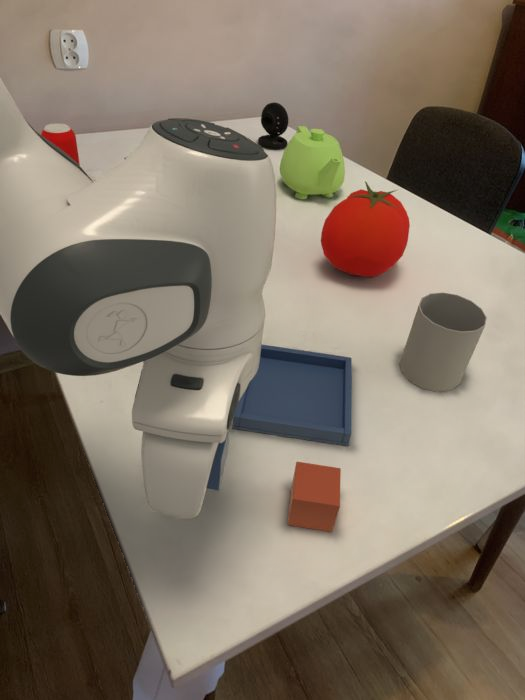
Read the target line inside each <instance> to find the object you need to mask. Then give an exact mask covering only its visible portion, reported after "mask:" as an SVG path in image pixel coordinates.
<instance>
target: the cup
mask: <svg viewBox="0 0 525 700" xmlns="http://www.w3.org/2000/svg"><path fill="white" fill-rule="evenodd" d="M416 309H417V310H416V312H415V315H414V318H413V322H412V324H411V328H410V330H409V333H408V337H407V340H406V343H405V346H404V348H403V352H402V354H401V357H400V361H399V369H400V372H401V374H402V375H403V376H404V377H405V378H406V379H407V380H408V381H409V382H410V383H411V384H413V385H414V386H417V387H419V388H420V389H423V390H425V391H432V392H437V393H442V392H449V391H453V390H454V389H455V388H457V387H458V386H460V384H461V382H462V379H463V377H464V375H465V373H466V370H467V368H468V366H469V364H470V362H471V359H472V356H473V354H474V352H475V350H476V347H477V345H478V343H479V341H480V339H481V336H482V334H483V331H484V330H485V327H486V323H487V315H486V313H485V312H484V309H482V308H481V306H479V305H477V303H475V302H473V301H472V300H471V299H468V298H465V297H464V296H461V295H458V294H454V293H448V292H433V293H432V292H431V293H428V294H427V295H425V296H423V297H421V298H420V301H419V304H418V306H417V308H416Z"/></svg>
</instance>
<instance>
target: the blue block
mask: <svg viewBox="0 0 525 700" xmlns="http://www.w3.org/2000/svg"><path fill="white" fill-rule="evenodd" d="M230 428H231V427H230ZM230 428H229V429H228V432H227V435H226V439H225V441H224V442H222V443H218V446H217V449H216V453H215V456H214V460H213V463H212V467H211V471H210V475H209V479H208V483H207V487H206V490H210V491H217V492H219V491H220V489H221V484H222V479H223V475H224V471H225V466H226V463H227V458H228V451H229V440H230V439H229V438H230Z"/></svg>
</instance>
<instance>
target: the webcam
mask: <svg viewBox="0 0 525 700" xmlns="http://www.w3.org/2000/svg"><path fill="white" fill-rule="evenodd" d="M260 117H261V118H260V123H261V126H262V128H263V130H264V131H265V132H266V133H267V134H265V135H260V137H258V139H257V144H258V145H259V146H260V147H261V148H262V149H266V150H283V149H286V147H287V145H288V141H287V139H286V138H284V137H282V135H283V134H284V133H285V132H286V131H287V129H288V126H289V115H288V112H287V109H286V108H285V107H284V106H283V104H280V103H278V102H269V103H267V104H265V106H264V107H263V109H262V111H261V115H260ZM275 142H276V143H275Z"/></svg>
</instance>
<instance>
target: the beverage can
mask: <svg viewBox="0 0 525 700" xmlns="http://www.w3.org/2000/svg"><path fill="white" fill-rule="evenodd" d="M40 135H42V136H43V137H44V138H46V139H47V140H49V141H50V142H51V143H53V144H54V145H56V146H57V147H59V148H60V149H61V150H63V151H64V152H65V153H66V154H68V155H69V156H70V157H71V158H72V159H73V160H75V161H76V162H77V164H78V165H79V166H80V167H81V165H80V157H79V150H78V142H77V136H76V133H75V131H74V130H73V129H72V128H71V126H70V125H67V124H65V123H56V122H55V123H49V124H46V125H44V126H43V128H42V130H41V134H40Z"/></svg>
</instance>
